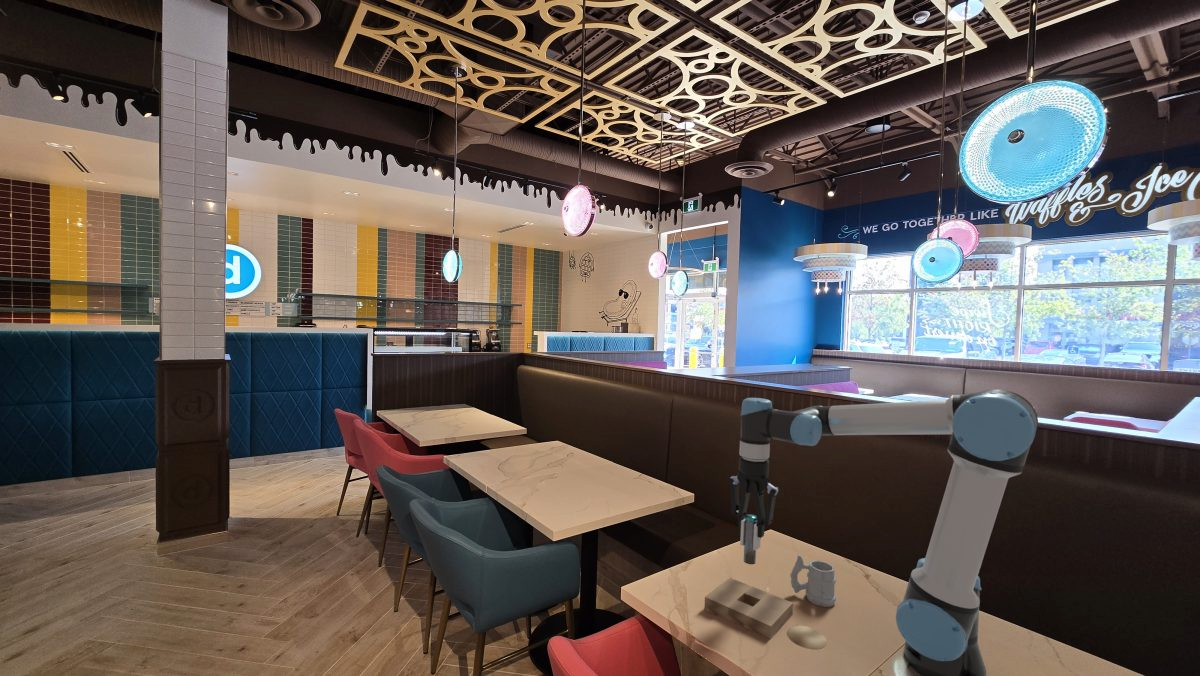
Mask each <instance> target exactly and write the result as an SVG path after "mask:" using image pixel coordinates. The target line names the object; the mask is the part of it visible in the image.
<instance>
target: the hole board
mask: <svg viewBox="0 0 1200 676" xmlns="http://www.w3.org/2000/svg"><path fill="white" fill-rule="evenodd" d="M793 610H794V602H792V601H790V600H787V599H785V598H781V597H779V596H777V595H774V594H772V593H769V592H767V591H764V590H762V589H760V588H757V587H754V586H751V585H749V584H747V583H744V582H742V581H740V580H737V579H734V578H733V577H729V578H728V579H726V580H725V581H724V582H722V583H721V584H719V586H717V587H715V588H714V589H713V590H711V592H709V593H708V594H707V595H705V597H704V611H705V612H709V613H711V614H712V615H715V616H720V617H722V618H723V619H727V620H728V621H731V622H732V623H735V624H738V625H739V626H741V627H744V628H746V629H747V630H750V631H751V632H755V633H756V634H758V635H761V636H764V637H765V638H767V639H770V640H772V639H773V637H774V636H775V635H776V634H777V633H778V631H780V630H781V628H782V627H783V626H784V625H785V624H786V623H787V621H788V620H790V618H791V617H792V616H793V615H794V614H793V613H794V611H793Z"/></svg>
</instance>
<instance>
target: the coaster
mask: <svg viewBox="0 0 1200 676" xmlns="http://www.w3.org/2000/svg"><path fill="white" fill-rule="evenodd" d="M786 635H787V638H788V639H789V640H791V642H792V643H794V644H796V645H797V646H800V647H802V648H805V649H808V650H822V649H823V648H825V647H826V646H827V644H828V642H827V639H826V637H825V635H823V633H821V632H820V631H818V630H817V629H814V628H812V627H809V626H806V625H805V626H804V625H792V626H790V627H788V628H787V629H786Z"/></svg>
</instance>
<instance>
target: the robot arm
mask: <svg viewBox="0 0 1200 676" xmlns="http://www.w3.org/2000/svg"><path fill="white" fill-rule="evenodd" d="M739 416H740V437H739V438H740V439H739V451H738V453H739V456H740V457H739V458H738V473H737V474H736V476H735V475H732V476H730V477H728V478H727V481H728V484H729V487H730V488H729V490H730V493H729V494H730V513H731V515H732V516H735V517H736V518H737V530H738V532H740V539H739V540H740V541H739V542H740V543H739V544H740V546H742V547H744V539H745V516H746V515H747V511H748V506H749V501H750V495H751V494H752V495H753V499H754V506H755V516H756V517H757V524H755V525H754V538H753V550H756V551H757V550H758V549H760V548H761V539H762V538H763V537H764V536H765V526H769V525H770V524H772V523H773V520H774V513H775V512H774V511H775V505H776V500H777V495H778V493H779V491H780V488H779V487H778V486H774V485H773V484H771V481H770V479H769V472H770V471H769V470H770V460H769V458H770V452H771V449H770V448H771V447H770V446H771V439H772V440H778V441H782V442H786V443H792V444H797V445H799V446H811V447H815V446H816V445H818V443H819V441H820V440H821V437H822V436H827V437H829V436H876V435H877V436H878V435H879V436H880V435H881V436H888V435H889V436H890V435H891V436H892V435H897V436H898V435H900V436H901V435H905V436H907V435H909V436H910V435H915V436H917V435H951V437H950V439H949V444H948V446H947V453H948V454H949V455H950V457H951V458H952V460H953V463H952V465H951V466H952V468H951V470H950V474H949V477H948V480H947V484H946V487H945V490H944V494H943V498H942V500H941V504H940V506H939V511H938V515H937V517H936V521H935V524H934V527H933V531H932V535H931V537H930V541H929V545H928V548H927V552H926V555H925V557H924V558H923V557H922V558H919V559H918V561H917V565H916V567H915V568H914V569H912V571H911V573H910V577H909V579H908V582H907V587H906V590H905V593H904V596H903V599H902V601H901V602H900V603H899V604H898V606H897V608H896V615H895V621H896V627H897V628H898V629H897V630H898V631H899V633H900V635H901V636H902V637H903V639H904V645H903V654H904V655H903V656H904V657H905V659H906V661H907V662H908V665H910V666H911V667H912V668H913V669H914V670H915V671H916V672H918V673H920V674H921V675H922V676H987V668H986V666H985V661H984V659H983V655H982V652H981V649H980V646H979V643H978V641H979V640H978V639H979V622H980V621H979V617H980V603H981V599H980V595H981V591H982V587H981V578H980V576H979V573H980V569H981V567H982V564H983V560H984V556H985V554H986V550H987V548H988V544H989V541H990V538H991V535H992V532H993V528H994V525H995V522H996V519H997V515H998V513H999V509H1000V506H1001V505H1002V504H1001V503H1002V500H1003V497H1004V493H1005V490H1006V488H1007V484H1008V482H1009V479H1011V478H1012V477H1016V476H1019V475H1021V474H1022V473H1023V470H1024V467H1025V464H1026V461H1027V458H1028V455H1029V451H1030V448H1031V445H1032V444H1033V441H1035V440H1034V439H1035V437H1036V432H1037V428H1038V425H1039V419H1038V413H1037V411H1036V409H1035V407H1034V406H1033V405H1032V403H1031V402H1030V401H1029V400H1028V399H1027V398H1025V397H1024V396H1022V395H1020V394H1019V393H1017V392H1014V391H1012V390H1008V389H1007V390H1006V389H1000V388H998V389H996V388H995V389H989V390H984V391H978V392H972V393H971V392H970V393H965V394H952V395H951V396H950V397H948V399H943V400H942V399H939V400H925V401H924V400H923V401H921V400H919V401H908V402H907V401H904V402H903V401H902V402H901V401H900V402H883V403H863V404H862V403H861V404H844V405H843V404H842V405H841V404H840V405H829V406H828V405H827V406H825V405H824V406H823V405H811V406H808V407H806V408H802V409H799V410H798V409H797V410H794V411H792V410H791V411H790V410H789V411H788V410H781V409H776V408H773V403H772V401H771V399H770V400H769V399H766V398H763V397H762V398H761V397H747V398H744V399H743V400H742V402H741V412H740V415H739ZM739 484H740V485H739ZM739 486H741V492H740V491H739V490H740V489H739ZM766 489H767V494H768V495H767V500H766V506H765V505H764V504H765V503H764V497H765V493H764V492H765V490H766ZM740 496H741V497H740Z"/></svg>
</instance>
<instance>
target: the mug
mask: <svg viewBox="0 0 1200 676" xmlns="http://www.w3.org/2000/svg"><path fill="white" fill-rule="evenodd" d="M796 558H797V559H796V561H795V563H794V566H793V567H792V570H791V572H790V576H789V577H790V584H791V588H792V589H793V591H794V593H795V594H798V593H799V592H800V591H802V590H804V591H805V595H806V599H807V600H808V601H809V602H810V603H812V604H813V605H816V606H819V607H823V608H824V607H825V608H829V607H833V606H835V602H836V601H837V596H836V594H835V585H836V582H837V580H836V579H837V578H836V576H835V567H834V566H833V565H832V564H830V563H828V562H826V561H821V560H812V561H810V562H809V563H807V564H806V563H805V562H804V559H803V557H802V555H801V554H799V553H797V557H796ZM803 569H804V570H808V571H807V573H806V575H807V581H806V582H800V581H799V579H798V576H799V575H798V574H799V573H800V572H801V571H802V570H803Z"/></svg>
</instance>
